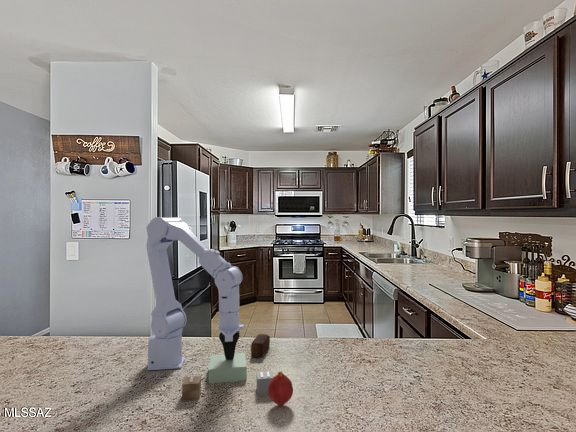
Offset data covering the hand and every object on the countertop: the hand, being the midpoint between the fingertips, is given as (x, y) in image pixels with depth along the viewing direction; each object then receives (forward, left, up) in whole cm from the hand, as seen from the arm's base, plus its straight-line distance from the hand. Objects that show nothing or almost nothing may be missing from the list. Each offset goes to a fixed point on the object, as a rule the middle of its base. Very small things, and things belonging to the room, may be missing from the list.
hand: (229, 358), depth 101 cm
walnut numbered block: (-9, -12, -4) cm, 16 cm away
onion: (+12, -20, -4) cm, 24 cm away
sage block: (0, 0, -4) cm, 4 cm away
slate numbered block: (+9, -12, -4) cm, 16 cm away
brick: (+10, +15, -4) cm, 18 cm away
